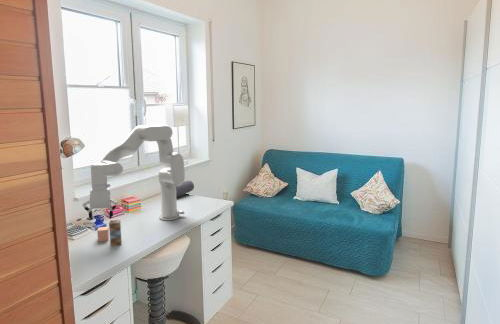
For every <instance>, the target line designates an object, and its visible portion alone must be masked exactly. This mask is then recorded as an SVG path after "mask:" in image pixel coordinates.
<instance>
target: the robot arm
mask: <svg viewBox="0 0 500 324" xmlns="http://www.w3.org/2000/svg"><path fill="white" fill-rule="evenodd" d="M173 133H174V132H173V129H172V127H171V126H169V125H166V124H159V123H154V124H150V125H137V126H135V128H134V129H132V131H131V132H130V133H129V135H128V136H127V137H126V138H125V139H124V140H123V142H122V143H121V144H119V145H117V146H116V147H114V148H113V149H112V150H110V151H109V152H108V153H107V154H106V155H105V156H104V157H103V159H102V160H101V161H100V162H96V163H95V162H94V163H92V164H91V165H90V176H91V177H90V178H91V188H90V192H89V200H88V201H85V202H83V203H82V207H83V208H84V210H85V211H87V213H88V218H89V219H90V221H92V220H93V219H94V218H93V210H97V209H98V210H99V209H108V210H109V219H111V220H112V217H114V210H115V209H117V206H118V204H119V203H118V201H116V200H114V199H112V198H111V197H112V196H111V192H110V191H111V190H110V187H111V184H109V183H108V177H119V176H120V175H121V174H122V173H123V170H124V167H123V165H122V164H121V163H120V162H119V161H120V160H121V159H124V158H125V157H129V156H132V155H134V154H135V153H136V152H137V150H138V149H139V148H141V146H142V144H143V143H144V142H156V143H157V146H158V156H159V164H160V165H161V166H162V167H164V168H162V169H161V170H160V171H159V172H158V181H159V186H160V202H161V203H160V204H161V205H160V206H161V207H160V208H161V214H159V217H158V219H160V220H162V221H173V220H178V219H179V218H180V216H181V215H185V210H182V209H181V210H178V205H177V200H178V199H177V198H178V197H176V187H175V186H179V185H181V184H182V183H183V182H185V161H184V156H183V155H182V154H180V153H179V152H175V151H174V147H173V141H172V136H173ZM112 204H113V206H112ZM87 205H89V207H88V206H87Z"/></svg>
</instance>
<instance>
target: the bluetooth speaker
mask: <svg viewBox="0 0 500 324" xmlns="http://www.w3.org/2000/svg"><path fill="white" fill-rule="evenodd" d="M175 187H176V198H179V197H183V196H185V195H186V194H188V193H190V192H192V191H194V188H195V185H194V183H193V181H192V180H186V181H185V180H184V182H183V183H182V184H181V185H179V186H175Z"/></svg>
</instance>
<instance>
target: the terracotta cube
mask: <svg viewBox="0 0 500 324" xmlns="http://www.w3.org/2000/svg"><path fill="white" fill-rule="evenodd" d="M96 231H97V242H107V241H109V240H110V230H109V226H101V227H99V226H98V228H97V230H96Z"/></svg>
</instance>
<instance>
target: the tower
mask: <svg viewBox="0 0 500 324" xmlns="http://www.w3.org/2000/svg"><path fill="white" fill-rule="evenodd" d="M108 228H109V242H110V247H114V246H115V247H116V246H121V245H122V242H123V241H122V240H123V239H122V226H121V219H114V220H113V219H111V220H109V223H108Z"/></svg>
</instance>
